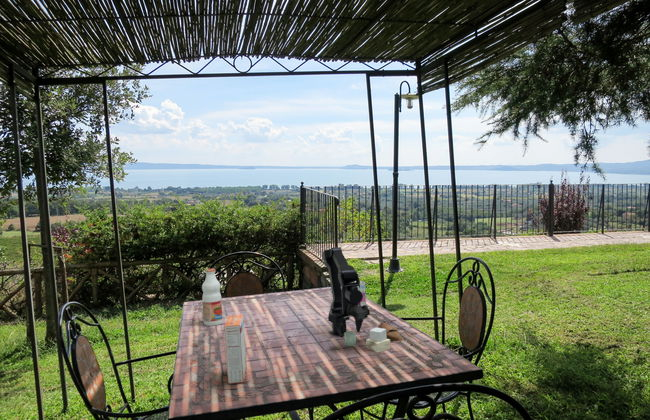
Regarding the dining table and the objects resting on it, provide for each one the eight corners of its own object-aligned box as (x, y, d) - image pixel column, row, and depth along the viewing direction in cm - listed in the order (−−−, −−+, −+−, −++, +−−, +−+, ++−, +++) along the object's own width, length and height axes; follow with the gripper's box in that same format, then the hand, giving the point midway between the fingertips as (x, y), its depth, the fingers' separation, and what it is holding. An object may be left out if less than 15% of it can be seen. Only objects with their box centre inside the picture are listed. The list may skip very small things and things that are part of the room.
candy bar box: (367, 312, 253) (366, 281, 252) (360, 314, 250) (359, 283, 249) (352, 308, 262) (351, 279, 261) (345, 310, 259) (344, 280, 258)
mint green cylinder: (342, 344, 204) (342, 332, 204) (351, 341, 207) (350, 330, 207) (349, 347, 201) (349, 335, 200) (358, 344, 203) (358, 332, 203)
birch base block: (366, 349, 198) (366, 339, 198) (379, 345, 202) (378, 335, 202) (377, 353, 192) (377, 343, 192) (390, 349, 197) (390, 339, 196)
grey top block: (369, 340, 197) (369, 330, 197) (376, 336, 201) (375, 327, 201) (380, 342, 194) (380, 332, 194) (386, 338, 198) (386, 329, 198)
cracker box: (231, 369, 181) (228, 314, 180) (247, 368, 182) (244, 313, 181) (226, 384, 167) (223, 325, 166) (244, 383, 168) (241, 324, 167)
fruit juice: (207, 321, 249) (204, 267, 248) (224, 320, 249) (222, 267, 247) (201, 326, 240) (198, 271, 239) (219, 326, 239) (216, 270, 238)
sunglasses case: (404, 340, 206) (396, 327, 205) (391, 349, 206) (382, 336, 205) (396, 328, 224) (388, 316, 223) (383, 336, 224) (376, 324, 223)
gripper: (343, 305, 191) (345, 344, 192) (377, 297, 202) (379, 334, 203) (326, 301, 200) (328, 338, 201) (360, 293, 211) (361, 328, 212)
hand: (350, 334), depth 204 cm, fingers open, 9 cm apart
